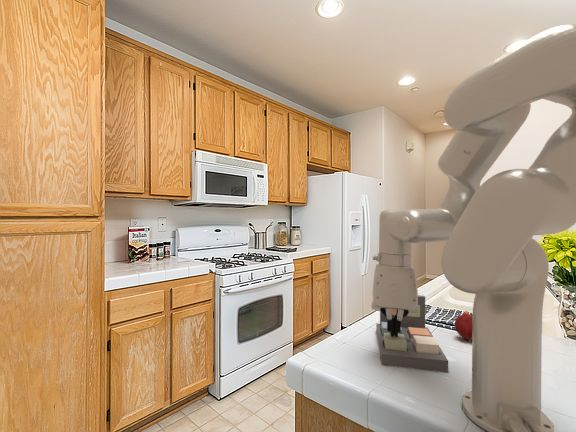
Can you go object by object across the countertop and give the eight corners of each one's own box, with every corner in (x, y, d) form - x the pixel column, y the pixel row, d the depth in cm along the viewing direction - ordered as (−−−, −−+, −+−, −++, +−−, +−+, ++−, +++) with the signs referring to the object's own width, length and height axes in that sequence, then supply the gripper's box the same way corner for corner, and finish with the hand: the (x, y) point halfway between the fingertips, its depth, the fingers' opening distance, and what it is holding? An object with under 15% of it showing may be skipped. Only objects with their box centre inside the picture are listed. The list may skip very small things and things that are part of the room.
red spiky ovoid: (483, 344, 80) (484, 314, 80) (462, 344, 80) (462, 314, 80) (471, 335, 86) (471, 307, 86) (450, 335, 86) (450, 307, 86)
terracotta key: (430, 345, 77) (430, 335, 77) (410, 343, 78) (410, 333, 78) (426, 337, 82) (426, 328, 82) (407, 336, 83) (407, 327, 83)
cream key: (439, 356, 69) (439, 345, 69) (416, 353, 70) (416, 343, 70) (434, 347, 74) (434, 337, 74) (413, 345, 75) (413, 335, 75)
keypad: (448, 372, 66) (448, 319, 66) (381, 364, 69) (381, 314, 69) (427, 336, 85) (427, 295, 85) (376, 331, 89) (376, 292, 89)
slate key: (401, 339, 79) (401, 329, 79) (382, 337, 80) (382, 328, 80) (399, 332, 83) (399, 323, 83) (381, 330, 84) (381, 321, 84)
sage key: (406, 352, 71) (406, 342, 71) (385, 350, 72) (385, 340, 72) (403, 344, 75) (403, 334, 75) (383, 342, 77) (383, 332, 77)
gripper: (363, 261, 72) (362, 337, 72) (431, 264, 68) (430, 344, 69) (363, 256, 79) (362, 326, 79) (424, 259, 76) (423, 331, 76)
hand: (393, 334), depth 74 cm, fingers closed
